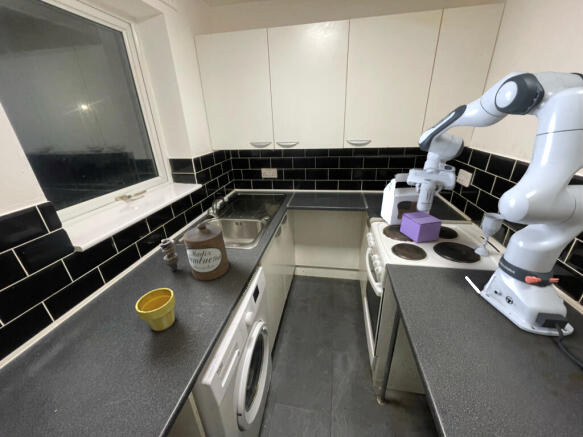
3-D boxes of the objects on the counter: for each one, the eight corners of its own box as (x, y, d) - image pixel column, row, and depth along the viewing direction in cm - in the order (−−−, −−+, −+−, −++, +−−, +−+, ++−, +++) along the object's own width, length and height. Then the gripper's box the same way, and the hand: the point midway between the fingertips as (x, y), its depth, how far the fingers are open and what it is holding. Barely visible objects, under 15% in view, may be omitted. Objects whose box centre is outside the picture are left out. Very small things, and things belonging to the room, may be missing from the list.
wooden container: (187, 282, 91) (174, 233, 82) (199, 260, 105) (188, 216, 96) (225, 279, 92) (215, 230, 83) (231, 258, 106) (224, 214, 97)
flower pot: (140, 324, 73) (130, 300, 69) (172, 305, 80) (165, 283, 76) (151, 343, 67) (141, 318, 63) (186, 320, 74) (179, 297, 70)
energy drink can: (421, 212, 111) (427, 182, 104) (413, 207, 116) (419, 179, 110) (432, 211, 111) (440, 181, 105) (425, 207, 116) (431, 178, 110)
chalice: (485, 248, 106) (498, 212, 98) (495, 257, 99) (510, 219, 92) (468, 248, 106) (479, 212, 99) (477, 256, 100) (490, 219, 93)
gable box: (415, 214, 144) (424, 169, 132) (427, 223, 132) (438, 175, 120) (380, 215, 143) (386, 171, 132) (389, 224, 131) (396, 176, 120)
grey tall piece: (169, 267, 101) (160, 237, 95) (182, 265, 102) (174, 235, 96) (166, 275, 96) (156, 244, 90) (180, 272, 97) (171, 241, 91)
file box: (437, 239, 115) (442, 220, 111) (416, 242, 113) (420, 223, 108) (419, 228, 126) (422, 211, 122) (399, 231, 124) (402, 213, 120)
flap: (442, 221, 111) (442, 220, 111) (420, 224, 109) (420, 223, 108) (431, 216, 116) (432, 216, 116) (411, 219, 114) (411, 218, 114)
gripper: (410, 164, 116) (403, 187, 113) (459, 167, 105) (452, 194, 102) (410, 171, 121) (403, 193, 118) (457, 175, 110) (450, 200, 107)
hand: (426, 194), depth 110 cm, fingers closed on energy drink can, 6 cm apart
